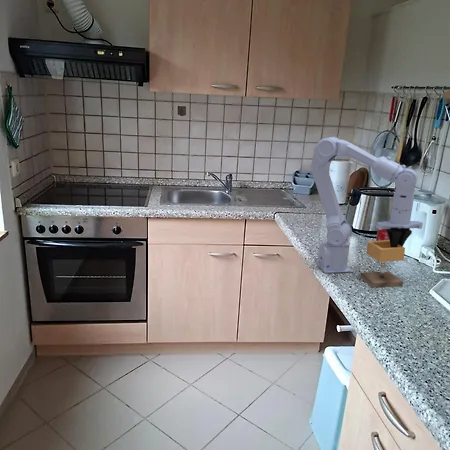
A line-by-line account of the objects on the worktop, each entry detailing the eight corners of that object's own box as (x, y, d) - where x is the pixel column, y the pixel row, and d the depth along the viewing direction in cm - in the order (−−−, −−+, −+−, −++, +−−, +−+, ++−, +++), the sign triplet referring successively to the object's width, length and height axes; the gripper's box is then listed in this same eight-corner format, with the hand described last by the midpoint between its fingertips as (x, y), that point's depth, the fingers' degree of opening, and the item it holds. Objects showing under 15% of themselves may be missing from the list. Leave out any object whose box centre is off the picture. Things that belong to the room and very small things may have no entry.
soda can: (378, 249, 162) (382, 219, 159) (396, 253, 158) (401, 223, 155) (371, 254, 157) (375, 223, 154) (390, 258, 153) (395, 227, 149)
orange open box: (379, 262, 127) (381, 249, 126) (366, 253, 134) (367, 241, 133) (403, 260, 128) (405, 247, 127) (389, 251, 136) (390, 239, 135)
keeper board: (372, 287, 128) (375, 269, 126) (360, 277, 135) (362, 259, 133) (402, 286, 129) (405, 268, 128) (388, 275, 137) (391, 258, 135)
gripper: (387, 212, 122) (381, 255, 126) (431, 211, 125) (424, 254, 129) (374, 206, 129) (369, 248, 133) (417, 205, 132) (410, 246, 135)
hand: (395, 250), depth 131 cm, fingers closed on orange open box
